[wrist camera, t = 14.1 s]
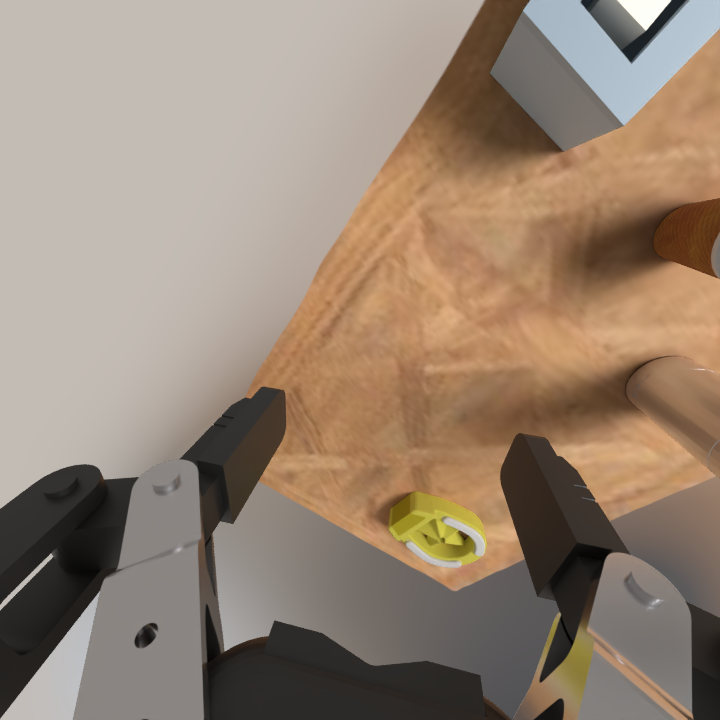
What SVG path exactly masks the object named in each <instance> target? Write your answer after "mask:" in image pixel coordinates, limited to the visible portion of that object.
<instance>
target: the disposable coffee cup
mask: <svg viewBox="0 0 720 720" xmlns="http://www.w3.org/2000/svg"><path fill="white" fill-rule="evenodd" d="M653 245H654V249H655V251H656V253H657V254H658V255H659V256H661V257H662V258H665V259H668V260H671V261H674V262H676V263H679V264H681V265H684V266H687V267H689V268H692V269H695V270H697V271H700V272H702V273H705V274H708V275H711V276H713V277H716V278H719V279H720V198H718V199H712V200H707V201H702V202H697V203H691V204H688V205H685V206H682V207H680V208H678V209H676V210H675V211H673V212H672V213H670V214H669V215H668V216H667V217H666V218H665V219H664V220H663V221H662V222H661V224H660V225H659V226H658V228H657V230H656V232H655V235H654V239H653Z"/></svg>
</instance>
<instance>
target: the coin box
mask: <svg viewBox="0 0 720 720" xmlns="http://www.w3.org/2000/svg"><path fill="white" fill-rule="evenodd" d="M592 1H593V0H530V1H529V3H528V4H527V6H526V7H525V8H524V10H523V11H522V13H521V15H520V17H519V19H518V21H517V23H516V25H515V26H514V28H513V30H512V32H511V34H510V36H509V38H508V40H507V41H506V43H505V45H504V47H503V49H502V51H501V53H500V55H499V57H498V58H497V60H496V62H495V64H494V66H493V68H492V70H491V72H490V74H491V75H492V76H493V77H494V78H495V79H496V81H497V82H498V83H499V84H500V85H501V86H502V87H503V88H504V89H505V90H506V91H507V92H508V93H509V94H510V95H511V97H512V98H513V99H514V100H515V101H516V102H517V103H518V104H519V105H520V106H521V107H522V108H523V109H524V110H525V111H526V112H527V114H528V115H529V116H530V117H531V118H532V119H533V120H534V121H535V122H536V123H537V124H538V125H539V126H540V127H541V128H542V129H543V131H544V132H545V133H546V134H547V135H548V136H549V137H550V138H551V139H552V140H553V141H554V142H555V143H556V144H557V145H558V146H559V148H560V149H561V150H562V151H563V152H564V151H566V150H568V149H571V148H573V147H575V146H578V145H580V144H582V143H585V142H587V141H589V140H592V139H594V138H596V137H599V136H601V135H603V134H606V133H608V132H610V131H613V130H615V129H618V128H620V127H622V126H624V125H625V124H626V123H627V122H628V121H629V120H630V119H631V118H632V117H633V116H634V115H635V114H636V113H637V112H638V111H639V110H640V109H641V108H642V107H643V106H644V105H645V104H646V103H647V102H648V101H649V100H650V99H651V98H652V97H653V96H654V95H655V94H656V93H657V92H658V91H659V90H660V89H661V88H662V87H663V86H664V85H665V84H666V83H667V81H668V80H669V79H670V78H671V77H672V76H673V75H674V74H675V73H676V72H677V71H678V70H679V69H680V68H681V67H682V66H683V65H684V64H685V63H686V62H687V61H688V60H689V59H690V58H691V57H692V56H693V55H694V54H695V53H696V52H697V51H698V50H699V49H700V48H701V47H702V46H703V45H704V44H705V43H706V42H707V41H708V40H709V39H710V38H711V37H712V36H713V35H714V34H715V33H716V32H717V31H718V30H719V29H720V0H671V1H670V3H669V4H668V5H667V6H666V7H665V9H664V10H663V11H662V12H661V13H660V15H659V16H658V17H657V18H656V19H655V21H654V22H653V23H652V24H651V25H650V27H649V28H648V29H647V30H646V31H645V32H644V33H643V34H641V35H640V36H639V37H637V38H636V39H635V40H634V41H632V42H631V43H630V44H629V45H627V46H626V47H625V48H624V49H622V50H621V51H620V49H619V48H618V47H617V46H616V45H615V43H614V42H613V41H612V40H611V39H610V37H609V36H608V35H607V34H606V33H605V31H604V30H603V29H602V28H601V27H600V25H599V24H598V23H597V22H596V21H595V19H594V18H593V17H592V16H591V15H590V13H589V12H588V11H587V10H586V9H587V7H588V6H589V5H590V3H591V2H592Z"/></svg>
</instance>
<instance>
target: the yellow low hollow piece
mask: <svg viewBox="0 0 720 720" xmlns="http://www.w3.org/2000/svg"><path fill="white" fill-rule="evenodd" d="M459 530H460V531H462V532H464V533H466V534H467V535H469V536H468V537H467V538H466V539H464V538H463V537H462V535H461V534H460V533H459V532H458V531H459ZM389 531H390V532H391V534H392V535H393V536H394V538H395V539H396V540H397V541H400V540H402V541H403V542H404V543H405V544H406V546H407V547H408V548H409V549H410V550H411V551H412V552H413V553H415V554H416V555H417V556H418V557H420V558H421V559H423V560H424V561H426V562H428V563H431V564H433V565H437V566H441V567H449V568H457V567H460V566H461V565H465V564H469V563H472V562H474V561H476V560H477V559H479V558H480V557H481V556H482V555H483V554H484V552H485V550H486V547H487V542H486V537H485V533H484V528H483V525H482V522H481V521H480V519H479V518H478V517H477V516H476V515H475V514H474V513H472V512H471V511H469V510H467V509H465V508H463V507H461V506H459V505H457V504H455V503H453V502H450V501H448V500H445V499H442V498H439V497H436V496H433V495H429V494H425V493H422V492H418V491H414V492H412V493H411V494H409V495H408V496H407V497H405V498H404V499H403V500H401V501H400V502H399V503H397V504H396V505H395V506H393V507H392V508H391V509H390V516H389ZM421 532H422V533H423V534H425V535H427V537H426V536H425V535H423V534H422V533H421ZM442 542H443V543H442ZM444 543H447V544H444Z"/></svg>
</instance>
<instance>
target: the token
mask: <svg viewBox="0 0 720 720" xmlns="http://www.w3.org/2000/svg"><path fill="white" fill-rule="evenodd" d="M670 1H671V0H593V1H592V2H591V3H590V5H589V6H588V7H587V9H586V10H587V11H588V12H589V13H590V15H591V16H592V17H593V18H594V19H595V21H596V22H597V23H598V24H599V25H600V27H601V28H602V29H603V30H604V31H605V33H606V34H607V35H608V36H609V37H610V39H611V40H612V41H613V42H614V43H615V45H616V46H617V47H618V48H619V49H620V51H621V50H622V49H624V48H625V47H626V46H627V45H629V44H630V43H631V42H632V41H634V40H635V39H636V38H637V37H639V36H640V35H641V34H643V33H644V32H645V31H646V30H647V29H648V28H649V27H650V25H651V24H652V23H653V22H654V21H655V19H656V18H657V17H658V16H659V15H660V13H661V12H662V11H663V10H664V9H665V7H666V6H667V5H668V4H669V3H670Z"/></svg>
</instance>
